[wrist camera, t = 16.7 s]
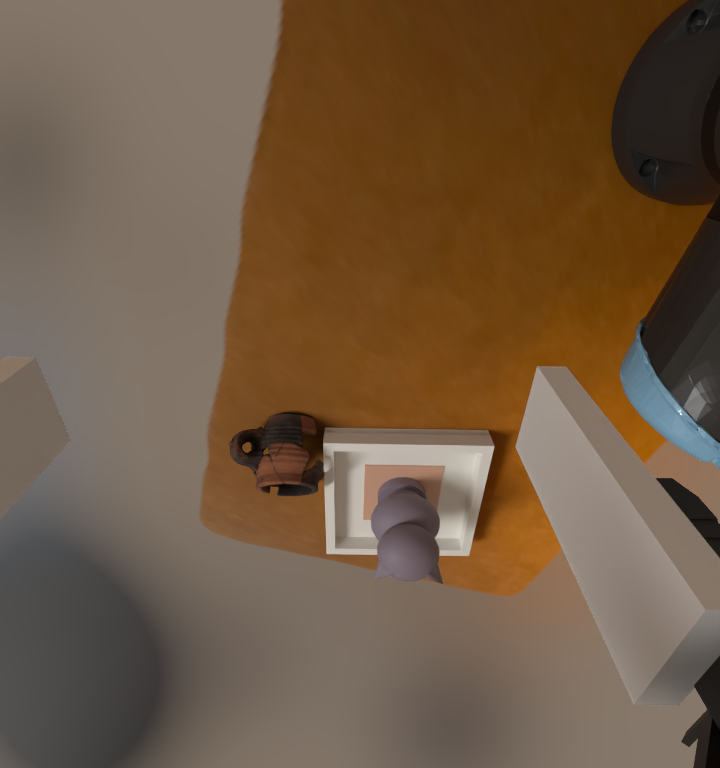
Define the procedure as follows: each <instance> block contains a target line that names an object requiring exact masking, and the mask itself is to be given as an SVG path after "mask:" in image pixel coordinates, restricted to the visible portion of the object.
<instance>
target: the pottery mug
mask: <svg viewBox="0 0 720 768" xmlns="http://www.w3.org/2000/svg"><path fill="white" fill-rule="evenodd" d="M302 434H309V435H313V436H314V435H316V424H315V419H313V418H311V417H307V416H303V415H298V414H291V413H289V414H284V413H283V414H277V415H273V416H271V417H270V418H269V420H268V423H267V424H266V427H265V428H264V429H263V428H262V427H259V428H257V429H249V430H244V431H241V432H239V433H238V434H237V435H235V436H234V437H233V438H232V441H231V442H230V443H229V446H230V455H231V457H232V458H233V460H234V461H235V462H236V463H238V464H240V465H244V466H247V467H249V468H250V469H251V470H254V472H253V475H254V476H255V478H256V479H257V484H256V489H257V490H258V491H261V492H263V493H270V486H272V487H279V490H278V493H277V495H279V496H302V495H309V494H313V493H315V492H317V491H318V482H319V481H320V480H321V479H322V477H323V476H324V474H325V472H324V469H323V470H322V468H323V466H324V464H323V463H322V461H321V460H317V462H316V464H315V465H314V466H313V467H312V468H310V469H309V470H306V471H304V469H305V467H306V465H307V463H308V461H309V458H310V457H309V453H308V451H307V450H306V449H305V448H303V440H302ZM246 442H250V443H251V445H252V446H251V451H250V452H249V453H246V452H244V451H243V449H242V445H243V444H245V443H246ZM266 447H268V450H269V454H266V455H263V451H264V450H265V449H266ZM255 470H256V471H255ZM303 471H304V472H303Z"/></svg>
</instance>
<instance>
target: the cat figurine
mask: <svg viewBox="0 0 720 768" xmlns="http://www.w3.org/2000/svg"><path fill="white" fill-rule="evenodd" d="M439 527H440V518H439V515H438V513H437V510H436V508H435V507H434V506H433V505H432V504H431V503H430V502H429V501H428V500H427V498H426V492H425V489H424V487H423V485H422V484H421V483H420V482H418V481H416V480H415V479H412V478H408V477H397V478H393V479H390V480H388V481H386V482H385V483H384V484H383V485H382V486H381V487H380V488H379V490H378V504H377V506H376V507H375V509H374V511H373V513H372V515H371V529H372V531H373V533H374V535H375V537H376V538H377V540H378V541H379V542H378V546H377V556H378V560H379V563H378V566H377V570H376V574H375V578H381V577H386V576H392V577H394V578H396V579H398V580H402V581H417V580H420V579H423V578H428V579H431V580H433V581H436V582H439V583H442V584H443V582H442V578H441V575H440V571H439V567H438V561H439V553H440V552H439V546H438V544H437V541H436V539H435V537H436V536H437V534H438V532H439Z"/></svg>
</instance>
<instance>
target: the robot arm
mask: <svg viewBox="0 0 720 768" xmlns="http://www.w3.org/2000/svg"><path fill="white" fill-rule="evenodd" d="M612 147H613V152H614V156H615V160H616V163H617V165H618V168H619V170H620V172H621V173H622V175H623V177H624V178H625V179H626V181H627V182H628V183H629V184H630V185H631V186H632V187H633V188H634V189H636V190H637V191H638V192H640V193H642V194H643V195H645V196H647V197H650V198H653V199H656V200H659V201H663V202H666V203H670V204H676V205H701V204H707V203H712V202H715V203H714V205H713V207H712V208H711V210H710V212H709V213H708V215H707V216H706V218H705V220H704V221H703V223H702V225H701V226H700V228H699V230H698V231H697V233H696V235H695V236H694V238H693V240H692V241H691V243H690V245H689V246H688V248H687V250H686V251H685V253H684V254H683V256H682V258H681V259H680V261H679V263H678V264H677V266H676V268H675V269H674V271H673V273H672V274H671V276H670V278H669V279H668V281H667V283H666V284H665V286H664V287H663V289H662V291H661V292H660V294H659V296H658V297H657V299H656V301H655V302H654V304H653V306H652V307H651V309H650V311H649V312H648V314H647V316H646V317H645V318H643V319H642V320H641V321H640V323H639V324H638V326H637V330H636V337H635V338H634V340H633V342H632V344H631V346H630V348H629V350H628V352H627V354H626V355H625V357H624V359H623V362H622V364H621V369H620V377H621V381H622V384H623V390H624V392H625V394H626V396H627V398H628V400H629V401H630V403H631V404H632V406H633V407H634V408H635V409H636V411H637V412H638V413H639V414H640V415H641V416H642V417H643V419H644V420H646V421H647V422H648V423H649V424H650V425H651V426H652V427H653V428H654V429H655V430H656V431H658V432H659V433H660V434H661V435H662V436H663V437H665V438H666V439H667V440H669V441H670V442H671V443H673V444H674V445H676V446H677V447H678V448H680V449H682V450H683V451H685V452H686V453H688V454H690V455H691V456H693V457H695V458H697V459H699V460H701V461H703V462H710V461H711V462H713V463H714V464H715V465H716V466H717V467H718V468H719V469H720V0H689V1H687V2H686V3H684V4H683V5H682V6H680V7H679V8H678V9H677V10H676V11H674V12H673V13H672V14H671V15H670V16H669V17H668V18H666V19H665V20H664V21H663V22H662V23H661V25H660V26H659V27H658V28H657V29H656V30H655V31H654V32H653V33H652V35H651V36H650V37H649V38H648V40H647V41H646V42H645V44H644V45H643V46H642V48H641V49H640V51H639V52H638V54H637V55H636V57H635V59H634V60H633V62H632V64H631V66H630V67H629V69H628V71H627V73H626V76H625V78H624V80H623V82H622V85H621V88H620V90H619V93H618V97H617V100H616V104H615V108H614V113H613V120H612ZM70 440H71V439H70V437H69V435H68V432H67V430H66V428H65V425H64V423H63V420H62V418H61V416H60V414H59V411H58V409H57V406H56V404H55V402H54V399H53V397H52V394H51V393H50V390H49V387H48V385H47V383H46V380H45V378H44V375H43V373H42V371H41V368H40V366H39V364H38V361H37V359H36V357H5V358H4V359H3V360H1V361H0V519H1V518H2V517H3V516H4V515H5V513H6V512H7V511H8V510H9V509H10V508H11V507H12V506H13V504H14V503H15V502H16V501H17V500H18V499H19V498H20V496H21V495H22V494H23V493H24V492H25V491H26V490H27V489H28V488H29V486H30V485H31V484H32V483H33V482H34V481H35V480H36V479H37V477H38V476H39V475H40V474H41V473H42V472H43V470H44V469H45V468H46V467H47V466H48V465H49V464H50V463H51V462H52V460H53V459H54V458H55V457H56V456H57V455H58V454H59V453H60V451H61V450H62V449H63V448H64V447H65V446H66V444H68V442H69V441H70ZM516 449H517V451H518V454H519V456H520V458H521V460H522V462H523V464H524V467H525V469H526V471H527V473H528V475H529V478H530V480H531V482H532V484H533V486H534V488H535V491H536V493H537V495H538V497H539V499H540V501H541V504H542V506H543V508H544V510H545V512H546V515H547V517H548V519H549V521H550V523H551V525H552V528H553V530H554V532H555V534H556V536H557V539H558V541H559V543H560V545H561V547H562V549H563V552H564V554H565V556H566V558H567V560H568V562H569V565H570V567H571V569H572V571H573V573H574V576H575V577H576V580H577V582H578V584H579V586H580V589H581V591H582V593H583V595H584V597H585V599H586V602H587V603H588V606H589V608H590V610H591V613H592V615H593V617H594V619H595V621H596V623H597V625H598V628H599V630H600V632H601V634H602V637H603V639H604V641H605V643H606V645H607V647H608V649H609V652H610V654H611V656H612V658H613V660H614V663H615V665H616V667H617V669H618V671H619V673H620V676H621V678H622V680H623V682H624V684H625V687H626V689H627V691H628V693H629V695H630V697H631V700H632V702H633V704H634V705H680V703H682V701H683V700H684V699H685V698H686V697H687V696H688V695H689V693H690V692H691V691H692V690H693V689H694V688H696V690H697V692H698V694H699V695H700V697H701V699H702V701H703V702H704V704H705V705H706V707H707V709H708V710H707V711H706V712H705V713H704V714H703V715H702V716H701V717H700V718H699V719H698V720H697V721H696V722H695V723H694V724H693V725H692V726H691V727H690V728H689V729H688V730H687V732H686V734H685V736H684V738H683V740H682V741H681V742H683V743H684V744H686V745H687V746H688V747H689V746H691V744H692V743H693V742H695V741H696V740H697V739H698V742H697V748H696V755H695V761H694V767H693V768H720V524H719V523H718V521H717V518H716V517H715V516H714V514H713V513H712V512H711V511H710V510H709V509H708V508H707V506H706V505H705V504H704V503H703V502H702V501H701V500H700V499H699V497H697V496H696V495H695V494H693V493H692V492H690V491H689V490H688V489H686V488H685V487H683V486H682V485H681V484H679V483H678V482H677V481H675V480H674V479H672V478H655V477H654V476H653V474H652V473H651V472H650V471H649V470H648V468H647V467H646V466H645V464H644V463H643V462H642V461H641V459H640V458H639V457H638V456H637V454H636V453H635V452H634V451H633V449H632V448H631V447H630V446H629V444H628V443H627V442H626V441H625V439H624V438H623V437H622V436H621V435H620V433H619V432H618V431H617V430H616V428H615V427H614V426H613V425H612V423H611V422H610V421H609V420H608V418H607V417H606V416H605V415H604V413H603V412H602V411H601V410H600V408H599V407H598V406H597V405H596V403H595V402H594V401H593V400H592V398H591V397H590V396H589V395H588V393H587V392H586V391H585V390H584V388H583V387H582V386H581V385H580V383H579V382H578V381H577V380H576V378H575V377H574V376H573V375H572V373H571V372H570V371H569V370H568V368H567V367H549V366H537V369H536V373H535V376H534V380H533V384H532V388H531V391H530V395H529V399H528V403H527V406H526V410H525V414H524V418H523V421H522V425H521V429H520V433H519V436H518V440H517V444H516Z"/></svg>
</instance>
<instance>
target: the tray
mask: <svg viewBox="0 0 720 768" xmlns="http://www.w3.org/2000/svg"><path fill="white" fill-rule="evenodd" d="M493 451H494V443H493V441H492V438H491V436H490V433H489V431H488V430H450V429H390V428H330V427H325V431H324V440H323V456H324V472H325V474H324V486H325V517H326V547H327V554H368V555H377V546H378V542H379V541H378V540H377V538H376V537H375V535H374V533H373V531H372V529H371V515H372V513H373V511H374V509H375V507H376V506H377V504H378V490H379V488H380V487H381V486H382V485H383V484H384V483H385V482H386V481H388V480H390V479H393V478H397V477H408V478H412V479H415V480H416V481H418V482H420V483H421V484H422V485H423V487H424V489H425V492H426V498H427V500H428V501H429V502H430V503H431V504H432V505H433V506H434V507H435V508H436V510H437V513H438V515H439V518H440V527H439V532H438V534H437V536H436V537H435V539H436V541H437V544H438V546H439V552H440V553H439V556H469V553H470V549H471V545H472V540H473V536H474V532H475V527H476V523H477V519H478V515H479V510H480V506H481V502H482V498H483V493H484V489H485V485H486V481H487V476H488V472H489V468H490V463H491V459H492V455H493Z"/></svg>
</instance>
